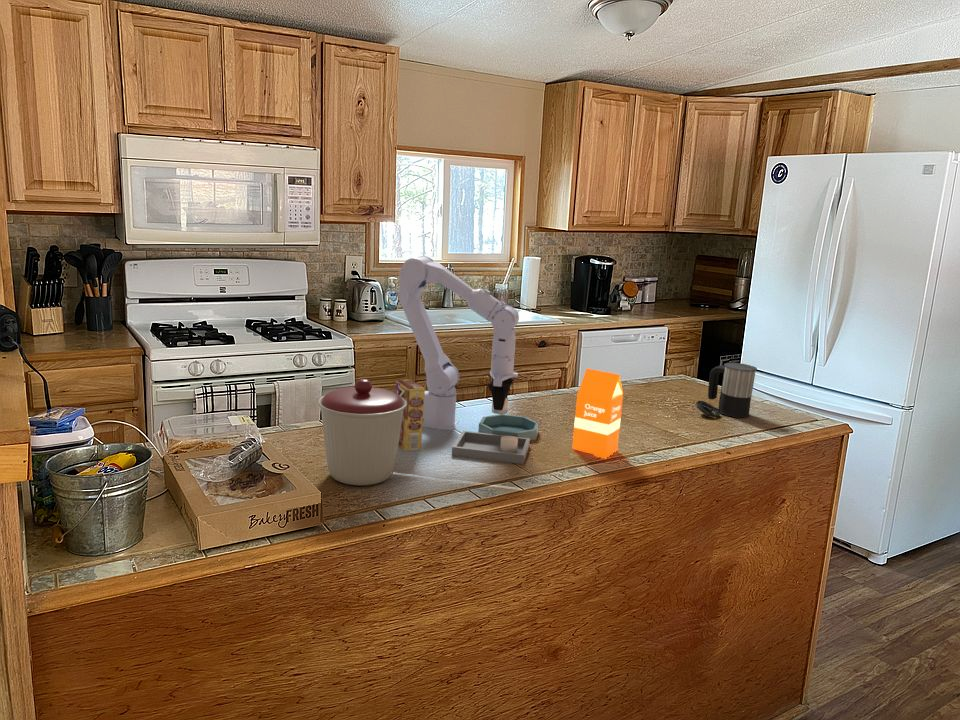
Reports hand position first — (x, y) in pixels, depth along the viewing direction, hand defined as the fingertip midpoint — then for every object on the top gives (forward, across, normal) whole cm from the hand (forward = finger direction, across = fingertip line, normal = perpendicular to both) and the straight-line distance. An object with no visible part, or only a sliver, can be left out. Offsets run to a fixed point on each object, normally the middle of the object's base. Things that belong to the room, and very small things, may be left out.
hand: (499, 407), depth 186 cm
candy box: (+7, -17, +19) cm, 27 cm away
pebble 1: (+1, 0, 0) cm, 1 cm away
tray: (+7, -15, -1) cm, 17 cm away
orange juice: (+7, -5, -25) cm, 26 cm away
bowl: (+7, 0, -3) cm, 7 cm away
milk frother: (+7, +42, -62) cm, 75 cm away
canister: (+7, -39, +23) cm, 46 cm away
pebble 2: (+6, -15, -5) cm, 17 cm away
